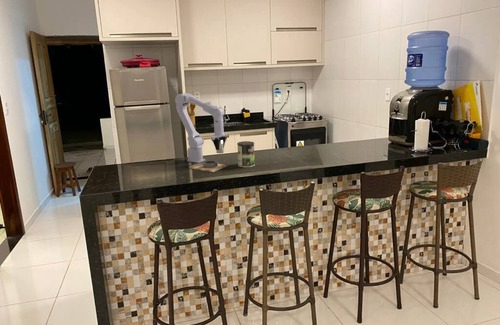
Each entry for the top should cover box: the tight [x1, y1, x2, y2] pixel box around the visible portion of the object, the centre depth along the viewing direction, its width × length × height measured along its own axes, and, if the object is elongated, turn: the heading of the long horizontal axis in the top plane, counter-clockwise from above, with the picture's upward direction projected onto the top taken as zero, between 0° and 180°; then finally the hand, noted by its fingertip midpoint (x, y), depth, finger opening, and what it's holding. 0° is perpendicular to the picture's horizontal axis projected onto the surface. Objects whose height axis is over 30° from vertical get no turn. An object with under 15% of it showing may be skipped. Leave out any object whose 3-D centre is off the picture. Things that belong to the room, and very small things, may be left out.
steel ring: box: [202, 159, 219, 168], centre depth 221 cm, size 8×8×2 cm
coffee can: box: [236, 140, 256, 168], centre depth 223 cm, size 10×10×14 cm
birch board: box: [188, 161, 228, 173], centre depth 222 cm, size 18×14×1 cm
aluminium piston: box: [215, 139, 225, 154], centre depth 229 cm, size 4×4×8 cm
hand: (219, 149), depth 230 cm, fingers closed on aluminium piston, 4 cm apart
